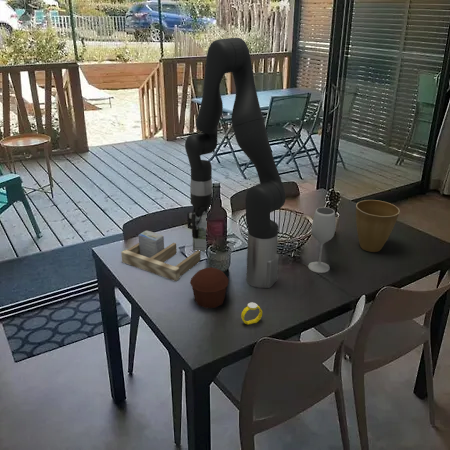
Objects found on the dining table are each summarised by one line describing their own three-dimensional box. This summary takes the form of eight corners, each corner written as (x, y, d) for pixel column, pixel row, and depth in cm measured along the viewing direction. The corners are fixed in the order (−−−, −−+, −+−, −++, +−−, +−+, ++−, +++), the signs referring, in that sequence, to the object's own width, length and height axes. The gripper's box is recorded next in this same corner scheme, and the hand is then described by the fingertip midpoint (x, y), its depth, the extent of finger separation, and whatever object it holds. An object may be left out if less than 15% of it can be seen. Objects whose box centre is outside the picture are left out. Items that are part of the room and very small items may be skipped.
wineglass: (334, 267, 165) (341, 210, 156) (322, 275, 160) (329, 217, 151) (315, 259, 170) (321, 204, 161) (303, 267, 165) (308, 210, 155)
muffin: (204, 285, 154) (204, 258, 149) (235, 295, 149) (235, 267, 144) (183, 304, 144) (182, 275, 140) (214, 315, 139) (215, 286, 135)
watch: (258, 318, 139) (260, 300, 137) (262, 323, 137) (265, 305, 134) (239, 321, 137) (241, 303, 134) (243, 327, 134) (245, 309, 132)
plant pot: (376, 261, 169) (383, 219, 162) (342, 245, 179) (347, 205, 172) (400, 249, 177) (408, 209, 170) (366, 234, 188) (372, 196, 181)
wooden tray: (202, 261, 167) (201, 251, 165) (176, 281, 156) (175, 270, 154) (150, 244, 178) (149, 235, 176) (122, 262, 166) (121, 252, 164)
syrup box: (210, 245, 178) (210, 208, 172) (208, 252, 173) (208, 215, 167) (195, 244, 179) (194, 207, 173) (192, 251, 173) (192, 214, 167)
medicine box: (165, 257, 170) (164, 235, 166) (157, 262, 166) (155, 240, 162) (147, 251, 173) (146, 229, 170) (139, 256, 170) (137, 234, 166)
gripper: (198, 199, 159) (199, 244, 166) (221, 186, 170) (221, 228, 177) (180, 195, 162) (181, 239, 170) (203, 182, 174) (203, 224, 181)
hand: (201, 233), depth 173 cm, fingers closed on syrup box, 7 cm apart
